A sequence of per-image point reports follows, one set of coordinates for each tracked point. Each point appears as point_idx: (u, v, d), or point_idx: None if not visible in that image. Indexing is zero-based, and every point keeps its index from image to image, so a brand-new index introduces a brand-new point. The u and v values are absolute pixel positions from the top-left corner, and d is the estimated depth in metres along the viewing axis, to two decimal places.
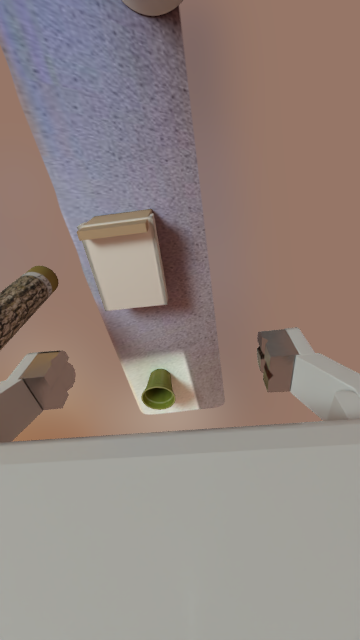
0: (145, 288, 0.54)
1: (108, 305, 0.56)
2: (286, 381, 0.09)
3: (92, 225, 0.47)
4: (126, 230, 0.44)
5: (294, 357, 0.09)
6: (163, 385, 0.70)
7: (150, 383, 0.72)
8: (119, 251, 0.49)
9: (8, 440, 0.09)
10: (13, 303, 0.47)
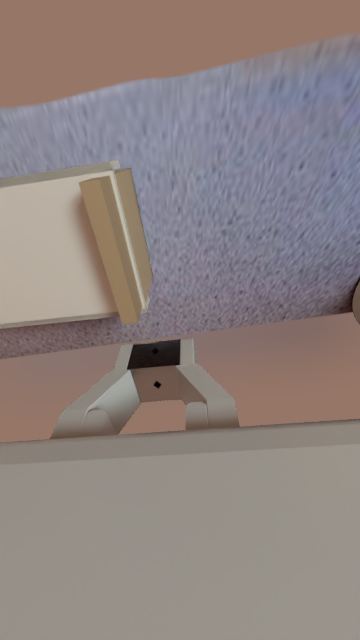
0: (6, 294, 0.26)
1: None
2: (175, 390, 0.10)
3: (118, 201, 0.21)
4: (119, 290, 0.23)
5: (175, 367, 0.09)
6: None
7: None
8: (72, 252, 0.24)
9: (116, 433, 0.09)
10: None
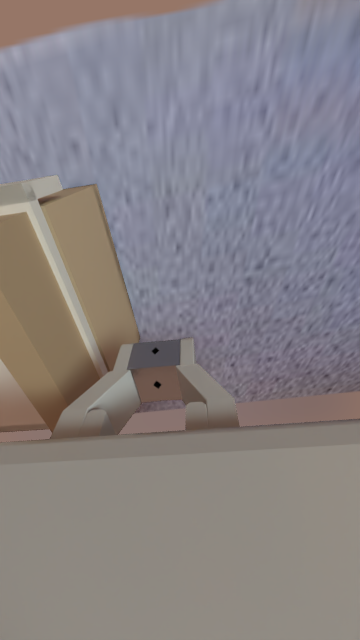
0: None
1: None
2: (175, 390, 0.10)
3: (51, 261, 0.11)
4: None
5: (175, 367, 0.09)
6: None
7: None
8: None
9: (116, 433, 0.09)
10: None
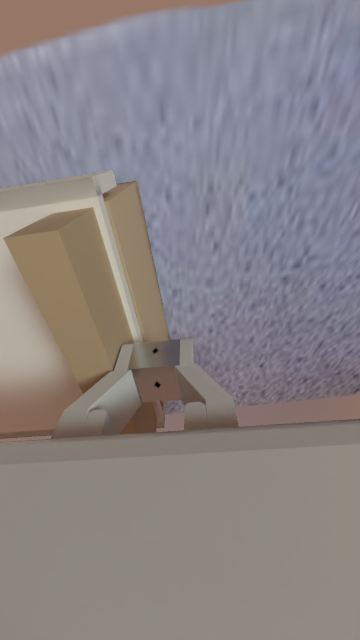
0: None
1: None
2: (174, 390, 0.10)
3: (112, 259, 0.10)
4: None
5: (174, 367, 0.09)
6: None
7: None
8: (28, 344, 0.13)
9: (117, 433, 0.09)
10: None
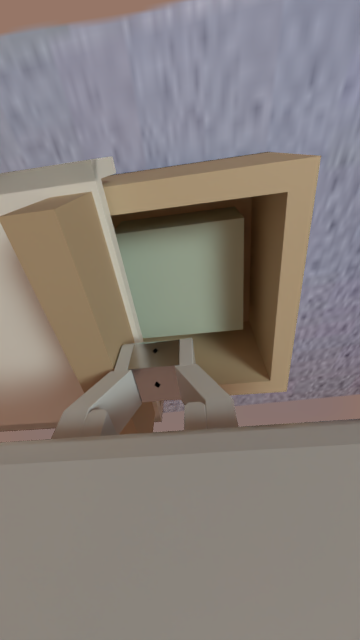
0: None
1: None
2: (174, 390, 0.10)
3: (110, 246, 0.10)
4: None
5: (174, 367, 0.09)
6: None
7: None
8: (24, 334, 0.12)
9: (117, 433, 0.09)
10: None
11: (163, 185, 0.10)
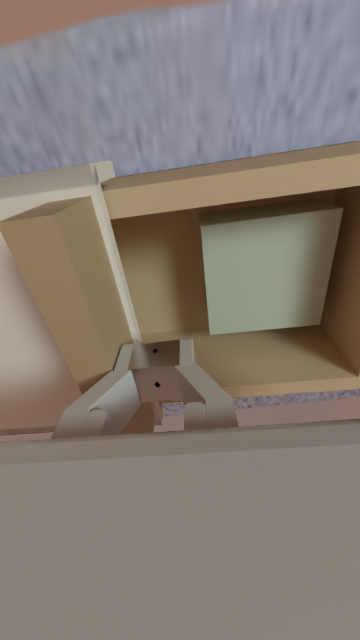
0: None
1: None
2: (174, 390, 0.10)
3: (110, 250, 0.10)
4: None
5: (174, 367, 0.09)
6: None
7: None
8: (23, 338, 0.12)
9: (117, 433, 0.09)
10: None
11: (299, 169, 0.09)
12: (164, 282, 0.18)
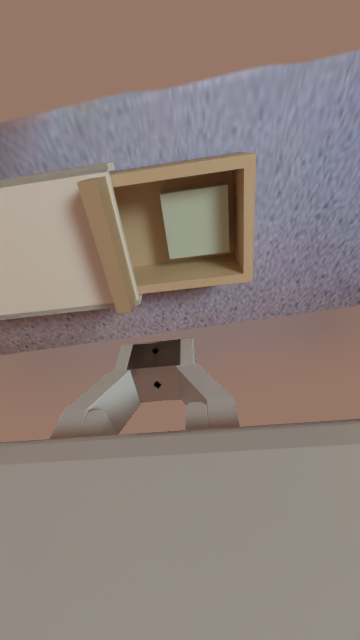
0: (9, 287, 0.28)
1: None
2: (175, 390, 0.10)
3: (112, 200, 0.23)
4: (114, 281, 0.25)
5: (175, 367, 0.09)
6: None
7: None
8: (71, 247, 0.26)
9: (116, 433, 0.09)
10: None
11: (191, 165, 0.23)
12: (145, 232, 0.32)
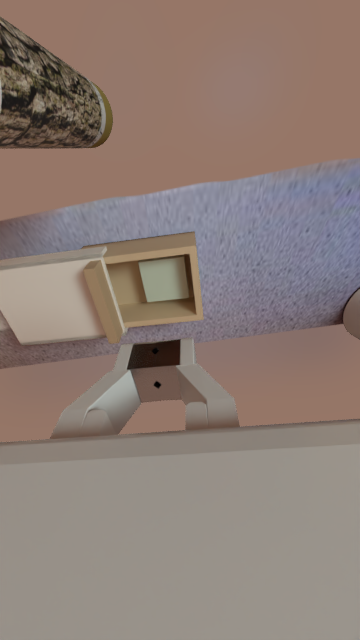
0: (35, 324, 0.41)
1: None
2: (175, 390, 0.10)
3: (105, 272, 0.36)
4: (107, 324, 0.37)
5: (175, 367, 0.09)
6: None
7: None
8: (78, 299, 0.39)
9: (116, 433, 0.09)
10: (59, 132, 0.21)
11: (155, 252, 0.35)
12: (130, 281, 0.45)
